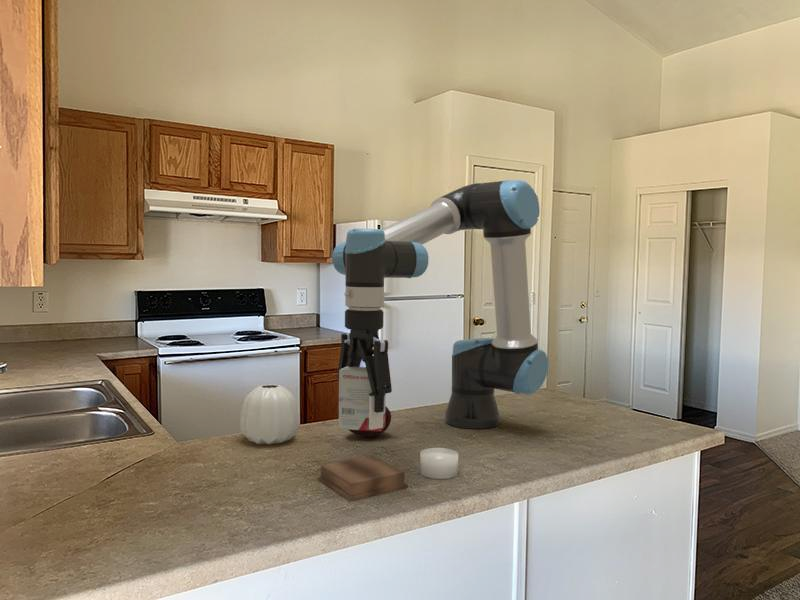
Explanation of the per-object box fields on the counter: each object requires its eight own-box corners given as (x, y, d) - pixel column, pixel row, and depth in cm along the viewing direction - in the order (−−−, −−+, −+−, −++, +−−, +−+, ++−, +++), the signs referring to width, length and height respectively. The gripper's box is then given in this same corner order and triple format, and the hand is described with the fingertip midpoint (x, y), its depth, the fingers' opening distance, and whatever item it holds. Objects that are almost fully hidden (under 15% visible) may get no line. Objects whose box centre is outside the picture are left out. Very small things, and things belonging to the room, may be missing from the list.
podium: (372, 468, 131) (372, 454, 131) (407, 487, 120) (408, 472, 120) (317, 479, 124) (317, 465, 123) (350, 501, 113) (350, 485, 113)
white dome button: (441, 463, 135) (442, 445, 135) (465, 474, 128) (466, 455, 128) (412, 470, 130) (412, 451, 130) (435, 481, 124) (436, 462, 123)
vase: (293, 430, 159) (293, 379, 158) (302, 446, 146) (302, 390, 145) (238, 434, 154) (238, 381, 154) (242, 451, 141) (242, 393, 140)
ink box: (386, 425, 123) (387, 367, 122) (380, 432, 118) (381, 371, 117) (345, 422, 124) (345, 364, 124) (337, 429, 120) (338, 369, 119)
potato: (396, 439, 152) (396, 402, 152) (349, 443, 148) (349, 405, 148) (384, 430, 161) (385, 395, 160) (340, 434, 156) (340, 398, 156)
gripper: (321, 305, 127) (319, 413, 128) (378, 313, 109) (376, 439, 110) (352, 304, 131) (351, 408, 132) (412, 312, 113) (410, 433, 114)
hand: (362, 422), depth 121 cm, fingers closed on ink box, 9 cm apart
